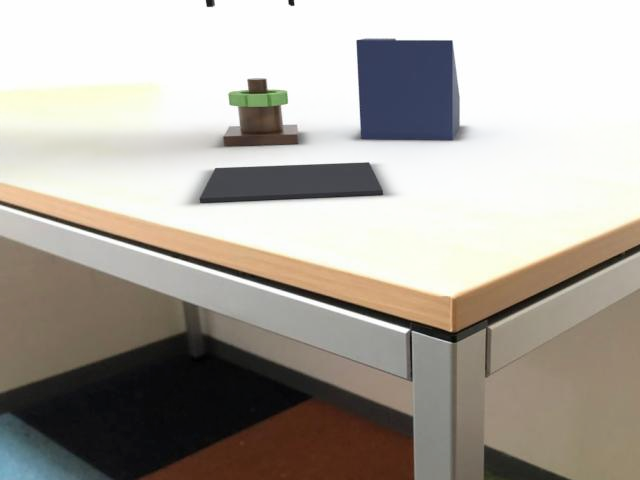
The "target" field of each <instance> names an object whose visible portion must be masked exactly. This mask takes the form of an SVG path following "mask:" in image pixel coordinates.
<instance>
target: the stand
mask: <svg viewBox="0 0 640 480" xmlns="http://www.w3.org/2000/svg"><path fill="white" fill-rule="evenodd" d="M246 82H247V90H248V92H249V94H267V93H268V89H269V88H268V79H267V78H265V77H256V78H255V77H253V78H247V79H246ZM237 111H238V120H239V125H232V126H231V125H230V126H228V128H227V130H226V131H225V132H224V135H223V136H222V139H223V145H224V147H237V146H238V147H240V146H244V147H245V146H272V145H273V146H275V145H276V146H277V145H298V144H299V129H298V124H284V123H283V121H284V120H283V111H282V105H278V106H268V107H248V106H247V107H241V106H237Z"/></svg>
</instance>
